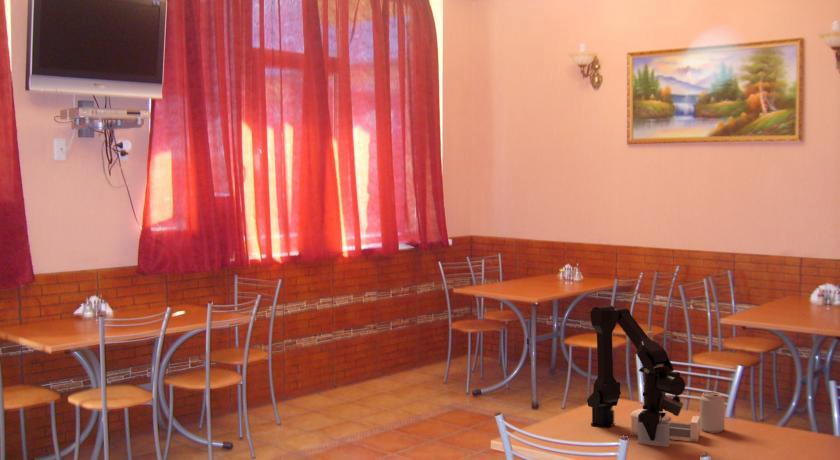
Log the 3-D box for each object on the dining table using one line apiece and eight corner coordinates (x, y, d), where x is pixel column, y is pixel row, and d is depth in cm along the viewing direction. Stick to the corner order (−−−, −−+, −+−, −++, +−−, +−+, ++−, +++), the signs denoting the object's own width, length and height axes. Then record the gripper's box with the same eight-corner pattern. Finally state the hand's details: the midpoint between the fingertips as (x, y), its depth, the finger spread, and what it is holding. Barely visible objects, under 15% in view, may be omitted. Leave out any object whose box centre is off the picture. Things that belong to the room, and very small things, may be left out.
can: (726, 434, 265) (726, 396, 264) (701, 433, 266) (701, 395, 265) (722, 427, 272) (722, 391, 271) (698, 426, 273) (698, 390, 273)
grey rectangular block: (637, 443, 256) (637, 421, 256) (639, 440, 259) (639, 418, 259) (667, 447, 253) (668, 424, 252) (669, 444, 255) (669, 421, 255)
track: (631, 434, 265) (631, 416, 265) (636, 428, 272) (636, 409, 272) (697, 442, 257) (697, 422, 256) (700, 434, 264) (700, 416, 264)
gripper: (676, 398, 243) (676, 450, 244) (685, 384, 260) (684, 433, 261) (637, 394, 248) (637, 446, 249) (648, 381, 265) (648, 429, 266)
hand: (653, 438), depth 256 cm, fingers open, 4 cm apart
